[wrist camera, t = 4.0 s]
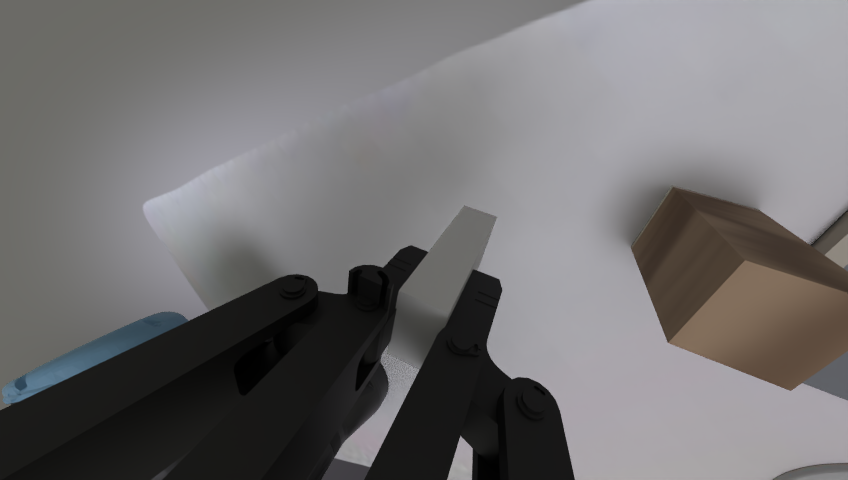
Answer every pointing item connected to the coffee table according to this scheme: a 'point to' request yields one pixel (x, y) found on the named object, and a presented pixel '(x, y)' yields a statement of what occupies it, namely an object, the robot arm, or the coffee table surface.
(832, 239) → the grey flat square piece
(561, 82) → the coffee table surface
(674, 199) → the block
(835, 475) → the candlestick
